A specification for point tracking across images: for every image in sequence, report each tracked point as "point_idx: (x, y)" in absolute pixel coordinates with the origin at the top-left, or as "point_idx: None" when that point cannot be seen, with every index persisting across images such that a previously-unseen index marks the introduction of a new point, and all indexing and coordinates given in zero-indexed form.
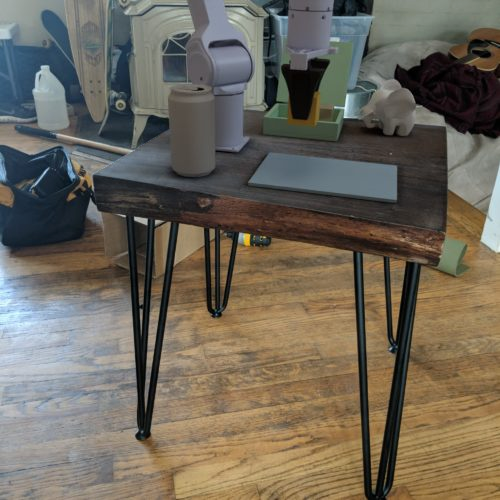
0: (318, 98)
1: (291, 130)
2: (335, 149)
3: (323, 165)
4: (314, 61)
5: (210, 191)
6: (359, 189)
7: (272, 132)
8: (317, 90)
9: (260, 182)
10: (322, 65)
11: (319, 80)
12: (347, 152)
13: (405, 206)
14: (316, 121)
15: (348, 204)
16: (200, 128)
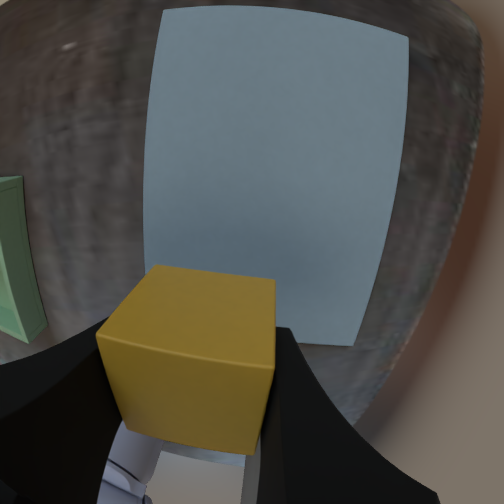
0: (218, 349)
1: (26, 280)
2: (61, 170)
3: (205, 189)
4: (29, 497)
5: (375, 382)
6: (371, 102)
7: (40, 311)
8: (91, 354)
9: (354, 326)
10: (7, 453)
11: (60, 389)
12: (72, 139)
13: (412, 28)
14: (234, 280)
15: (431, 140)
16: None
